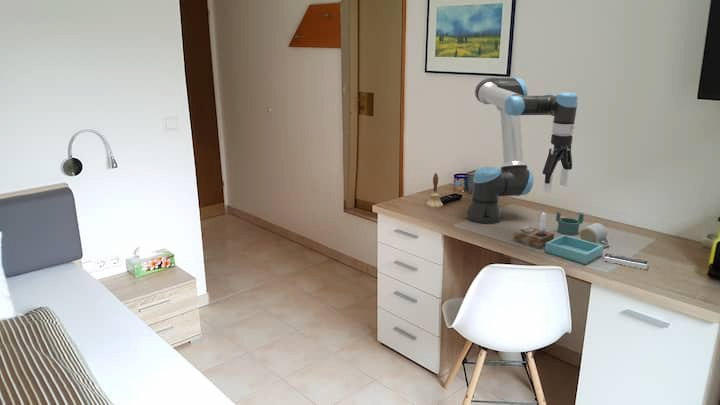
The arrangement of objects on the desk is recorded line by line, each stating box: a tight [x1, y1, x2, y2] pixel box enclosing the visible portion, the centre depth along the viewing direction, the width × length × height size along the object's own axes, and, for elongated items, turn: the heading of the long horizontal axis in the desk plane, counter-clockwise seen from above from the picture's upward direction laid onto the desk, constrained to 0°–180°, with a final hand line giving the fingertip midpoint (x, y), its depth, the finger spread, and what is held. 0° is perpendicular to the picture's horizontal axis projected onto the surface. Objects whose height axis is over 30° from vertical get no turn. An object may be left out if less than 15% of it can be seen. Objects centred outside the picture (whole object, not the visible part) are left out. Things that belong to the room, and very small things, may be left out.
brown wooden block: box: [512, 225, 555, 250], centre depth 216 cm, size 12×10×5 cm
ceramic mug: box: [579, 222, 611, 249], centre depth 215 cm, size 11×8×8 cm
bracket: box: [555, 211, 585, 236], centre depth 229 cm, size 9×9×9 cm
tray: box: [544, 234, 604, 266], centre depth 205 cm, size 16×14×4 cm
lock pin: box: [537, 211, 548, 237], centre depth 213 cm, size 3×3×13 cm
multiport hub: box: [602, 252, 649, 270], centre depth 197 cm, size 4×14×2 cm, turn 60°
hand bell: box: [425, 172, 444, 208], centre depth 264 cm, size 8×8×16 cm
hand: (555, 188), depth 209 cm, fingers open, 13 cm apart
